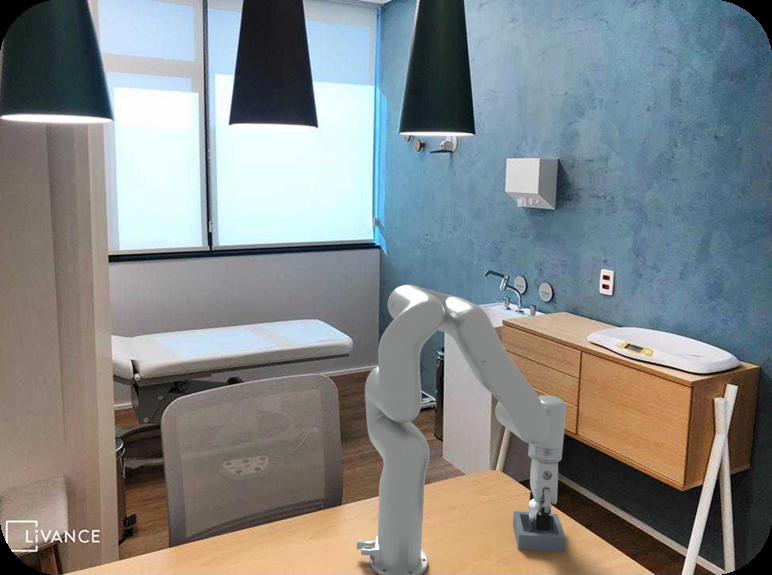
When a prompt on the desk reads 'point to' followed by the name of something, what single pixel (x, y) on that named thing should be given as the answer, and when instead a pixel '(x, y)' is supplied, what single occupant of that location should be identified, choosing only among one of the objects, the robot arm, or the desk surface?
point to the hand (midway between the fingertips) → (538, 518)
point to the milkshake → (533, 516)
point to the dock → (538, 534)
